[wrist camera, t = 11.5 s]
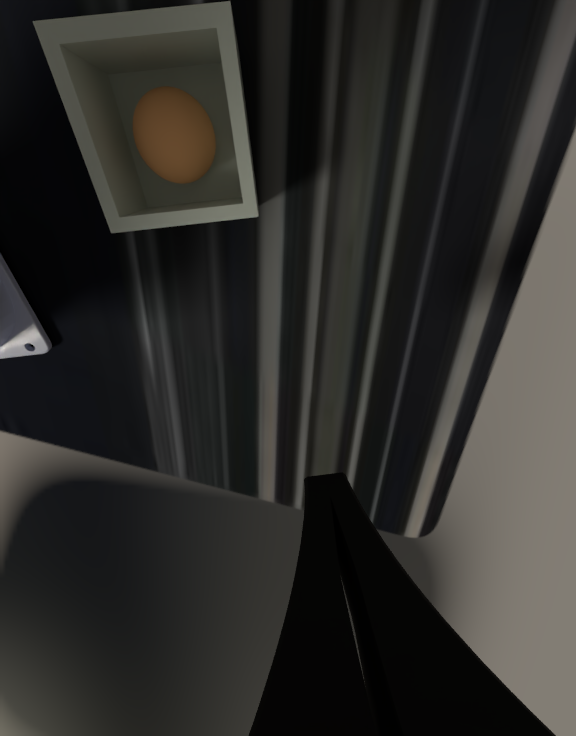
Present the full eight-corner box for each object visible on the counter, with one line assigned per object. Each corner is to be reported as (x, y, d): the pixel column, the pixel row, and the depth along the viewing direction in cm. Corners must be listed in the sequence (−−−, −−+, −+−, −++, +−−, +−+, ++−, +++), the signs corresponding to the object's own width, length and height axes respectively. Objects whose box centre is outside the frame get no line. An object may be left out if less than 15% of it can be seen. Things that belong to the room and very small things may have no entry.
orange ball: (159, 185, 14) (137, 189, 12) (136, 99, 13) (104, 81, 10) (226, 178, 14) (218, 180, 12) (211, 91, 13) (198, 71, 10)
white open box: (144, 219, 15) (111, 233, 12) (95, 61, 12) (32, 21, 9) (258, 206, 15) (258, 216, 12) (238, 46, 12) (229, 0, 9)
